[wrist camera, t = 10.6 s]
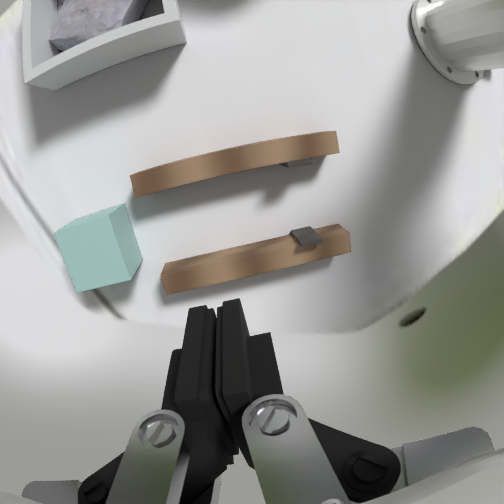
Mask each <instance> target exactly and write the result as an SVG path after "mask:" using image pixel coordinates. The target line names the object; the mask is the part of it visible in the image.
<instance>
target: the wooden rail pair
mask: <svg viewBox="0 0 504 504" xmlns="http://www.w3.org/2000/svg"><path fill="white" fill-rule="evenodd" d="M336 153H340V152H339V146H338V140H337V134H336V131H325V132H317V133H310V134H304V135H297V136H291V137H285V138H279V139H274V140H268V141H263V142H257V143H252V144H247V145H242V146H238V147H233V148H228V149H224V150H219V151H215V152H211V153H207V154H202V155H198V156H194V157H190V158H187V159H183V160H179V161H175V162H171V163H168V164H164V165H161V166H157V167H154V168H150V169H147V170H143V171H140V172H137V173H135V174H132V175H130V178H131V182H132V186H133V190H134V193H135V197H136V198H137V197H140V196H144V195H147V194H151V193H154V192H158V191H162V190H165V189H169V188H173V187H176V186H180V185H184V184H188V183H192V182H196V181H200V180H204V179H208V178H212V177H217V176H221V175H225V174H230V173H234V172H239V171H243V170H248V169H253V168H258V167H263V166H268V165H273V164H278V163H279V164H280V165H283V166H286V167H288V168H290V167H295V166H301V165H306V164H312V161H311V159H310V158H311V157H317V156H324V155H330V154H336ZM349 252H351V245H350V234H349V232H348V231H347V230H345V229H344V228H343V227H341V226H340V225H339V224H335V225H331V226H327V227H322V228H318V229H312V228H311V227H310V226H309V227H305V228H300V229H296V230H291V235H286V236H282V237H278V238H273V239H269V240H264V241H260V242H256V243H251V244H247V245H243V246H238V247H234V248H230V249H225V250H221V251H217V252H212V253H208V254H204V255H199V256H195V257H191V258H186V259H182V260H178V261H174V262H169V263H165V266H164V268H163V271H162V273H161V279H162V282H163V285H164V288H165V290H166V293H167V295H168V294H173V293H177V292H182V291H187V290H191V289H196V288H200V287H205V286H209V285H214V284H218V283H223V282H227V281H232V280H236V279H240V278H245V277H249V276H254V275H258V274H262V273H266V272H271V271H275V270H279V269H283V268H288V267H292V266H296V265H300V264H304V263H308V262H312V261H317V260H321V259H325V258H329V257H333V256H337V255H341V254H345V253H349Z"/></svg>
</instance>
